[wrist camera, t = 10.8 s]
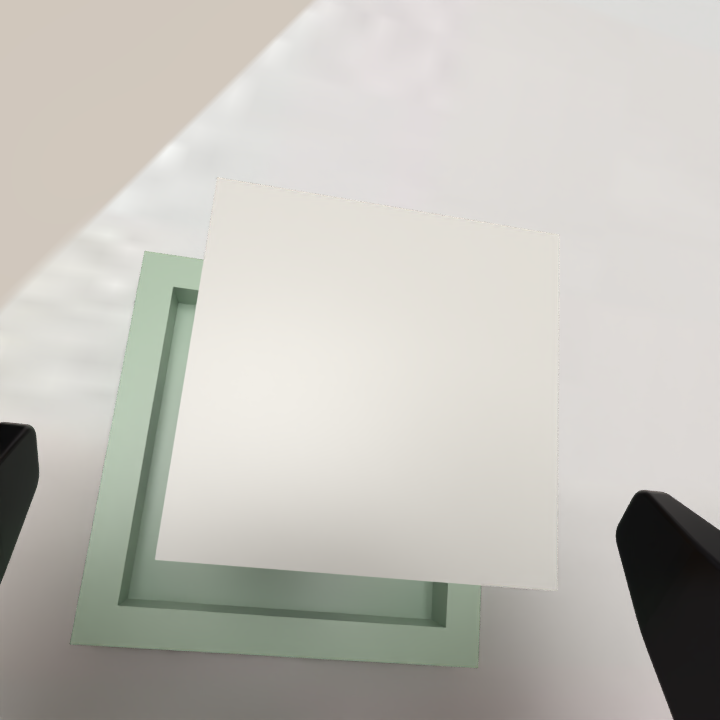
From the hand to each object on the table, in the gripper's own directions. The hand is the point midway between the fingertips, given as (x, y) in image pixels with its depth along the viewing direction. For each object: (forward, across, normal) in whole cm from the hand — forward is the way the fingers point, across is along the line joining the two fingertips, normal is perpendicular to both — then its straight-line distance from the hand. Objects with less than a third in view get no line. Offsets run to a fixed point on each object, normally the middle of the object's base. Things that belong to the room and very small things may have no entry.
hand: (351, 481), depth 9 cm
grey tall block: (+8, 0, +6) cm, 11 cm away
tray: (+9, 0, +7) cm, 11 cm away
